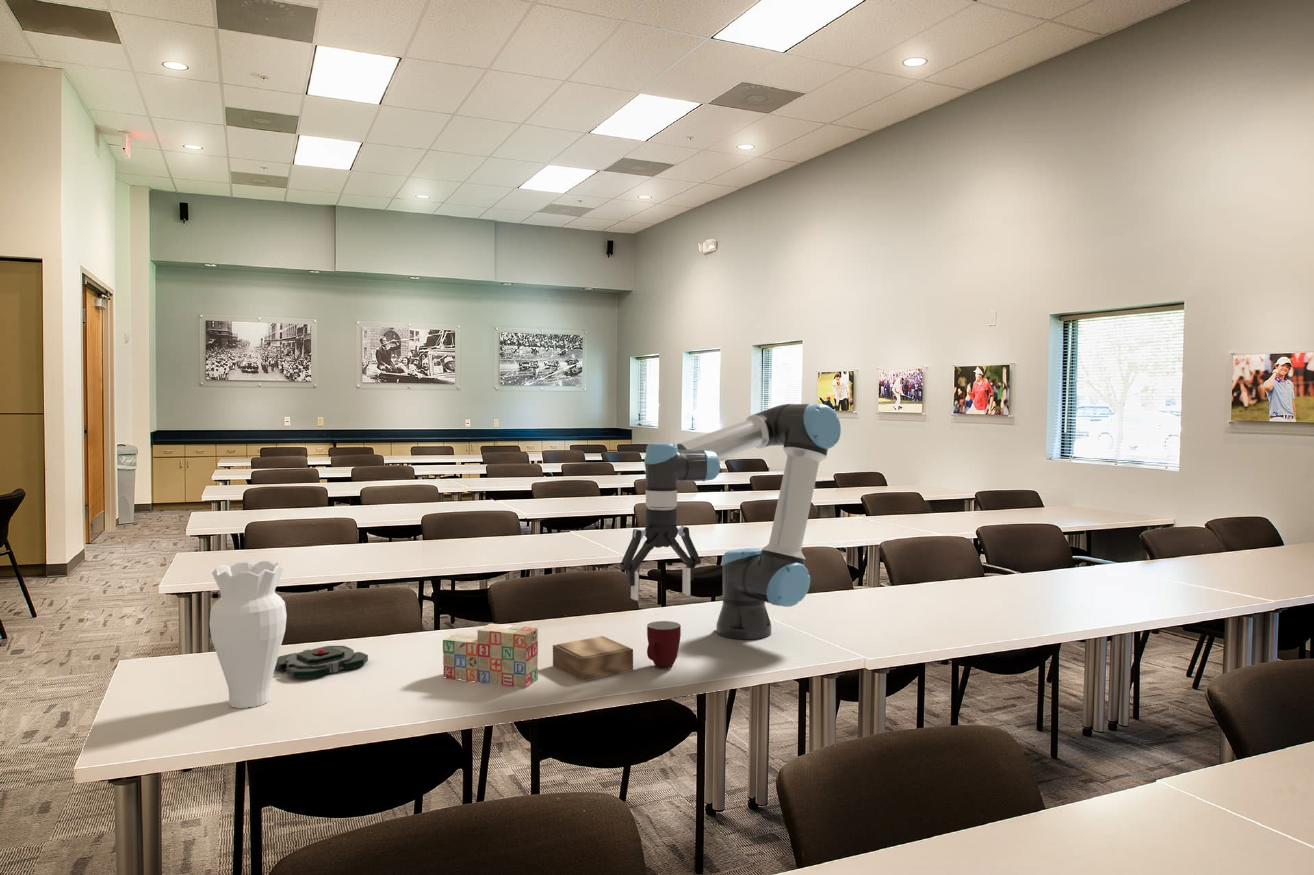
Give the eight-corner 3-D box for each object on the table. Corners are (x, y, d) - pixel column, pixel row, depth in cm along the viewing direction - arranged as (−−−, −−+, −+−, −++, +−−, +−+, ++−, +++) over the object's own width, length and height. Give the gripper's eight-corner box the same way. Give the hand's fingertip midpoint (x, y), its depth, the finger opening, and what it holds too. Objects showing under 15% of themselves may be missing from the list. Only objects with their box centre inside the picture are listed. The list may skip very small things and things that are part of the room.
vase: (237, 719, 169) (234, 575, 168) (196, 706, 177) (193, 568, 176) (302, 698, 181) (300, 563, 180) (261, 686, 189) (259, 557, 188)
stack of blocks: (442, 679, 194) (441, 626, 194) (457, 671, 200) (456, 619, 200) (526, 688, 187) (525, 634, 187) (538, 680, 193) (538, 627, 193)
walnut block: (602, 655, 212) (602, 635, 211) (633, 670, 200) (633, 648, 200) (552, 665, 204) (552, 644, 203) (581, 681, 192) (581, 658, 192)
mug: (667, 676, 195) (667, 633, 195) (636, 671, 199) (636, 629, 198) (686, 664, 205) (686, 623, 204) (656, 659, 208) (655, 619, 208)
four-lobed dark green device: (374, 667, 204) (373, 648, 204) (300, 685, 191) (299, 665, 191) (339, 653, 216) (338, 635, 216) (267, 669, 203) (267, 650, 203)
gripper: (700, 504, 209) (699, 589, 210) (606, 508, 199) (606, 598, 199) (715, 507, 202) (714, 595, 203) (618, 512, 192) (618, 604, 192)
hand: (660, 596), depth 201 cm, fingers open, 13 cm apart
